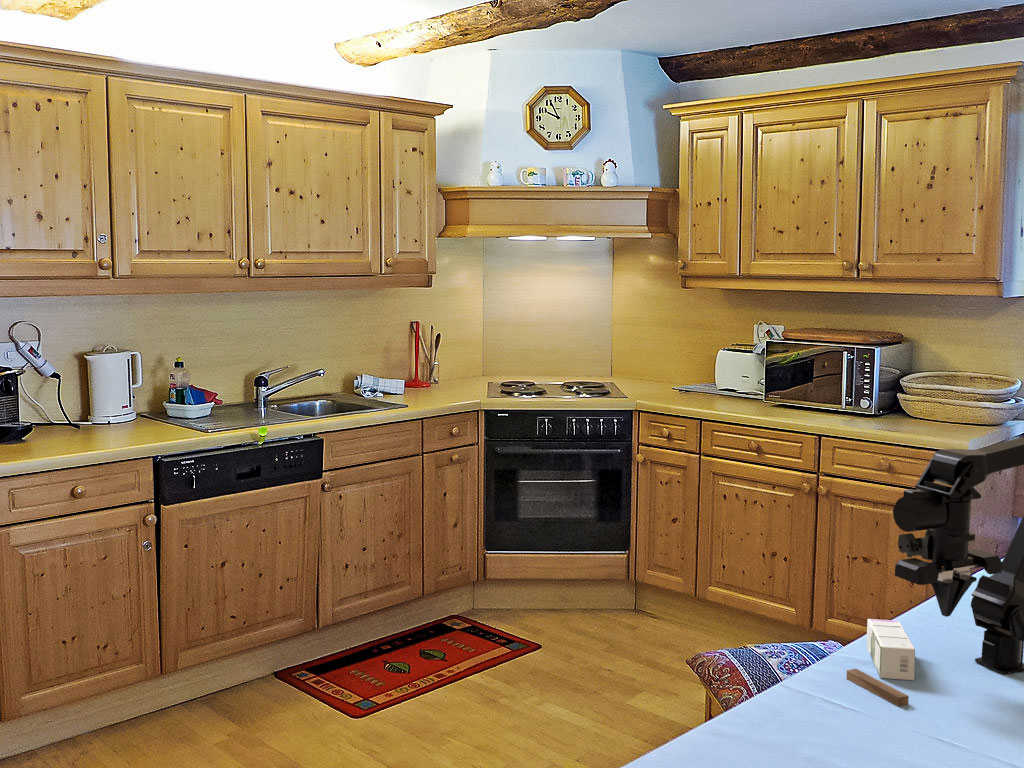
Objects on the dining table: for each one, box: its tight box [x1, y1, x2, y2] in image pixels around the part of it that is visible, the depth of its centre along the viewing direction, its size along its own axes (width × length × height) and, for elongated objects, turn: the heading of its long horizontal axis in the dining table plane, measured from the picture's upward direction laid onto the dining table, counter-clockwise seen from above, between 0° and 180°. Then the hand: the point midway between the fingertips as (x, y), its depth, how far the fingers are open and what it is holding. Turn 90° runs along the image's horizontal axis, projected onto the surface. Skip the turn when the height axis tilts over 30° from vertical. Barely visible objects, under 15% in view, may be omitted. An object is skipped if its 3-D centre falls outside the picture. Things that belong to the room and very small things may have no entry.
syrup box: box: [866, 618, 916, 681], centre depth 182 cm, size 6×6×14 cm
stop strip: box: [845, 668, 910, 708], centre depth 171 cm, size 2×12×2 cm, turn 23°
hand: (945, 615), depth 175 cm, fingers closed
